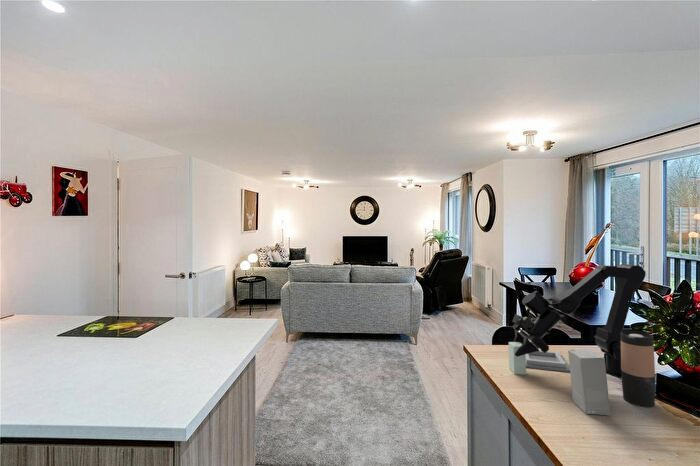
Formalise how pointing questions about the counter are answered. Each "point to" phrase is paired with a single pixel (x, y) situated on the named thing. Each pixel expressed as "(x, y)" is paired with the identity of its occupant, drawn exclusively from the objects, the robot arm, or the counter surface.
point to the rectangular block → (516, 359)
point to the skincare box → (589, 381)
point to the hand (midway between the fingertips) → (512, 352)
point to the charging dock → (547, 361)
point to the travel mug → (638, 368)
